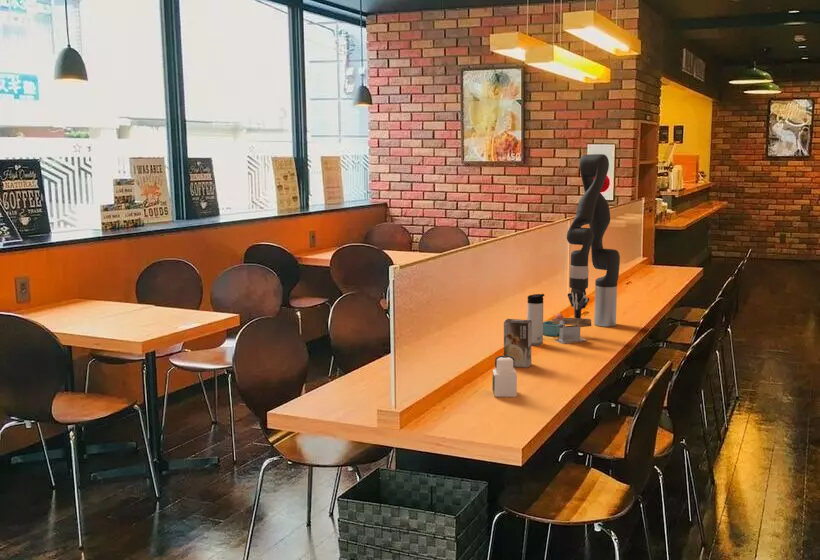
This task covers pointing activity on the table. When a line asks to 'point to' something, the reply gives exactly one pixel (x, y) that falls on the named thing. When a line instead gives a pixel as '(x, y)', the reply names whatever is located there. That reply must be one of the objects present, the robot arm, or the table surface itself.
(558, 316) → the ball
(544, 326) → the teal square bin
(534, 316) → the travel mug
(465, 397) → the table surface
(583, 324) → the lever
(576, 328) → the fulcrum
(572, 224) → the robot arm
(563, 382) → the table surface
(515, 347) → the coffee box
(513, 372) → the medicine bottle
